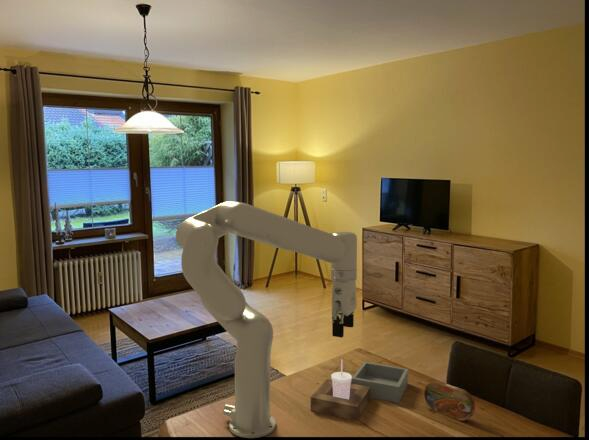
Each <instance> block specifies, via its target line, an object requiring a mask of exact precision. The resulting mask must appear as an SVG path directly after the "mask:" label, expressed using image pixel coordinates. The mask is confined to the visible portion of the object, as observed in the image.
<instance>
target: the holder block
mask: <svg viewBox="0 0 589 440" xmlns="http://www.w3.org/2000/svg"><path fill="white" fill-rule="evenodd" d="M370 400H371V397H370V387H368V386H362V385H357V384H352V383H351V384H350V396H349V399H344V398H339V397H334V396H333V384H332V379H330V378H327V379H326V380H325V381H324V382H322V384H321V385H320V386H319V387H318V389H317V390H316V391H315V392H314V393H313V394H312V395H311V396H310V411H311V412H316V413H320V414H325V415H329V414H331V416H334V415H335V417H339V418H344V419H348V420H353V421H359V418H360V417H361V415H362V414H363V412H364V410H365V409H366V407H367V405H368V404H369V402H370Z"/></svg>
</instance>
